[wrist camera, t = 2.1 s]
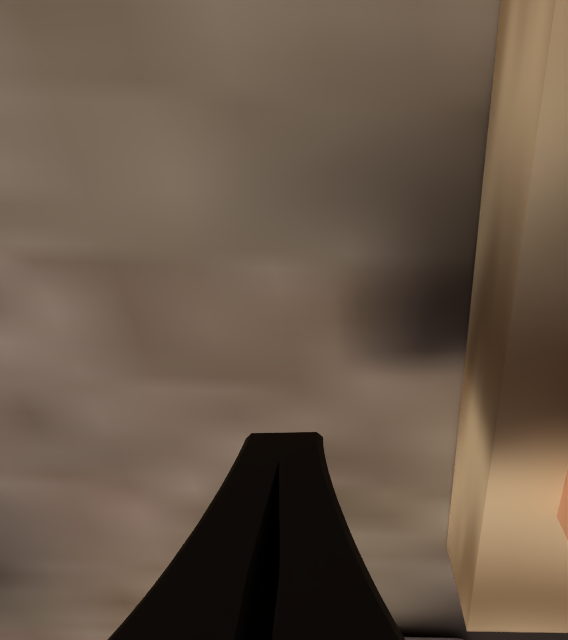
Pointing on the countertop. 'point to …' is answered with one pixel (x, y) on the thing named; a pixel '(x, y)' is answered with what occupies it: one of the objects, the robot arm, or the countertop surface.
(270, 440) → the robot arm
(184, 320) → the countertop surface
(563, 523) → the terracotta tile
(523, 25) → the birch plate
